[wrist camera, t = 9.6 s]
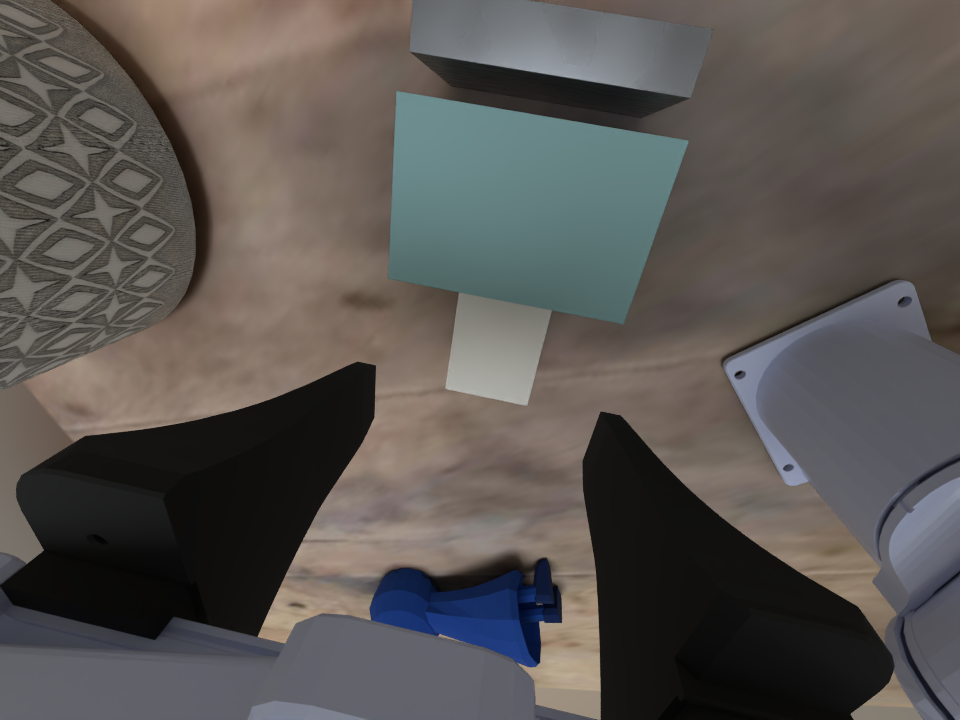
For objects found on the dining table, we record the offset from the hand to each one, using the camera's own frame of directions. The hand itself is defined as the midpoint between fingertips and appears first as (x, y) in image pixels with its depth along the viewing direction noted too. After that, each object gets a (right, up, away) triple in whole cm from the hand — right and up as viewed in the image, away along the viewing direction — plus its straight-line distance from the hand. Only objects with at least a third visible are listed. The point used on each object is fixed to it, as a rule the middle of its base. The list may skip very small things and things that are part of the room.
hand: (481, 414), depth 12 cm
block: (+2, +9, +6) cm, 11 cm away
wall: (+3, +13, +3) cm, 14 cm away
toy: (-1, -16, +20) cm, 26 cm away
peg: (+2, +6, +8) cm, 10 cm away
